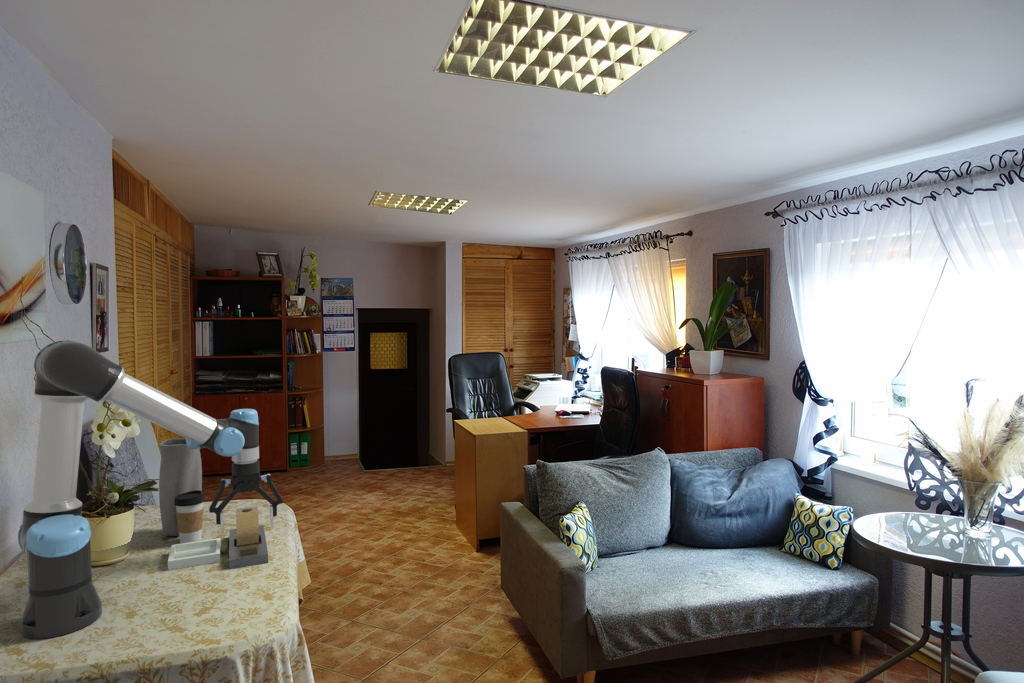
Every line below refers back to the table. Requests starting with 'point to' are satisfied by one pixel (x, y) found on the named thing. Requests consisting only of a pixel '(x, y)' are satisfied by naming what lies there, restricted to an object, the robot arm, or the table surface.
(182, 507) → the coffee cup
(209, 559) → the parts tray
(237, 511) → the block
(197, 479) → the vase
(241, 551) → the rail
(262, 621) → the table surface
